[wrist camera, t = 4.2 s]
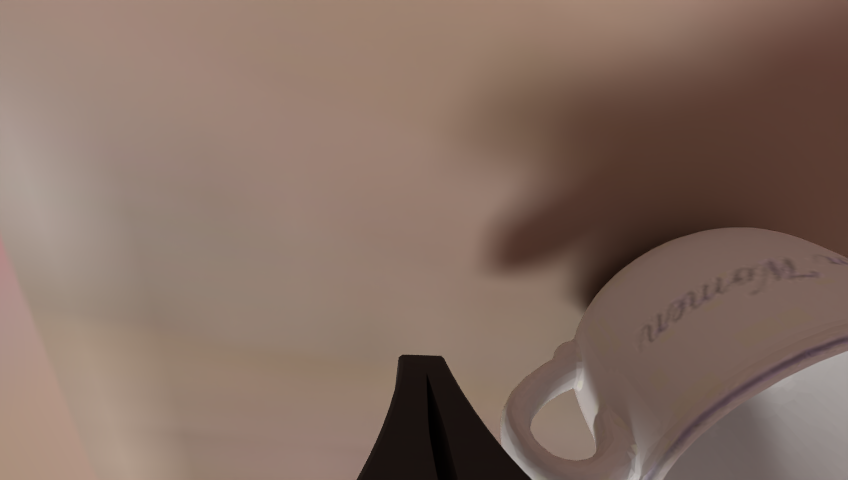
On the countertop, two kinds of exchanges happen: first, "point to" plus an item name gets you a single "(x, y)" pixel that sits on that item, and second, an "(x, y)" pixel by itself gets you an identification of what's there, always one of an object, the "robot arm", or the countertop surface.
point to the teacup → (704, 366)
